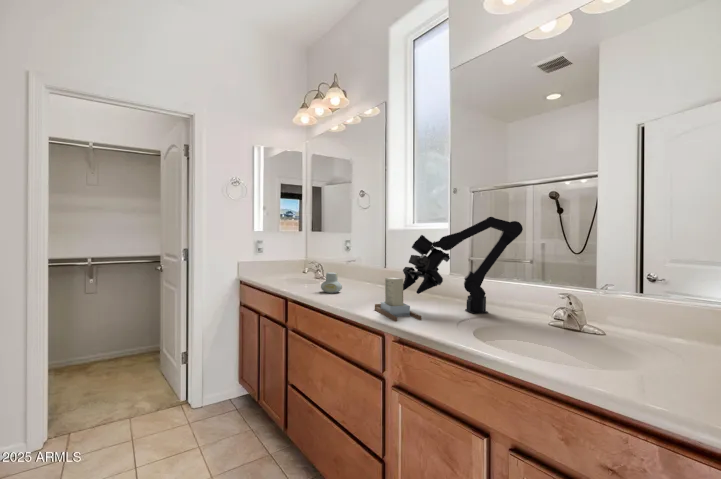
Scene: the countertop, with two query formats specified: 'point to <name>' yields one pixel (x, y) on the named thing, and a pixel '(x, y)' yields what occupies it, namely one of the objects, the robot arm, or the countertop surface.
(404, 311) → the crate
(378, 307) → the bay
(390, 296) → the skincare box
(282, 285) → the countertop surface
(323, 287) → the air freshener
